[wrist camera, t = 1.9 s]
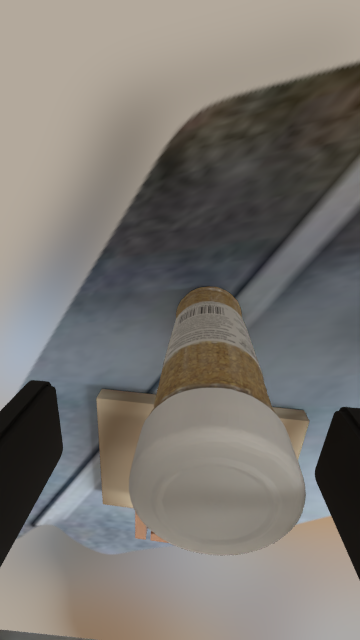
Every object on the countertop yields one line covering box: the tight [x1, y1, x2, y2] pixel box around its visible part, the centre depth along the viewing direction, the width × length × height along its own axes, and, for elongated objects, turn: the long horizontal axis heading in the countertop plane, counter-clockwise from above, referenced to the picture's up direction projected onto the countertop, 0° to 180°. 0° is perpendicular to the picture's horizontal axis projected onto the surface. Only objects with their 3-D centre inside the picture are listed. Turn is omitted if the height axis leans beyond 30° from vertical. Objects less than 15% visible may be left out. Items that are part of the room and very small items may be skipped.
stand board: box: [96, 389, 309, 508], centre depth 24 cm, size 16×12×1 cm
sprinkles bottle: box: [129, 286, 306, 555], centre depth 13 cm, size 5×5×13 cm
